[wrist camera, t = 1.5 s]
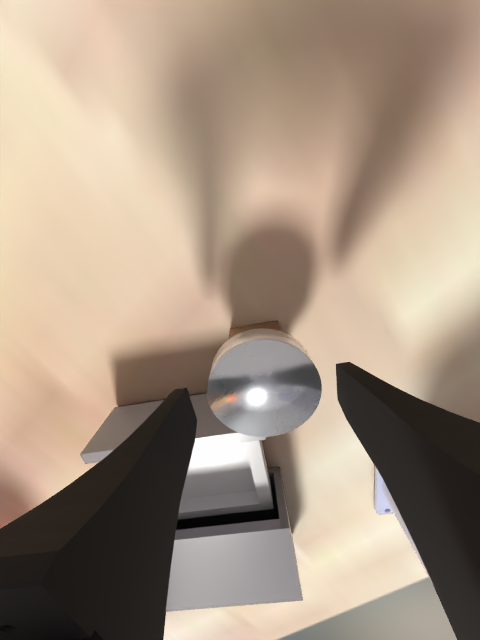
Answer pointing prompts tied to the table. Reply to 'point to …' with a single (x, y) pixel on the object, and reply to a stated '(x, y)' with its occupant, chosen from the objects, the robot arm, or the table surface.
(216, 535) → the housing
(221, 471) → the grey drawer
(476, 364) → the table surface
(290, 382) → the disc
